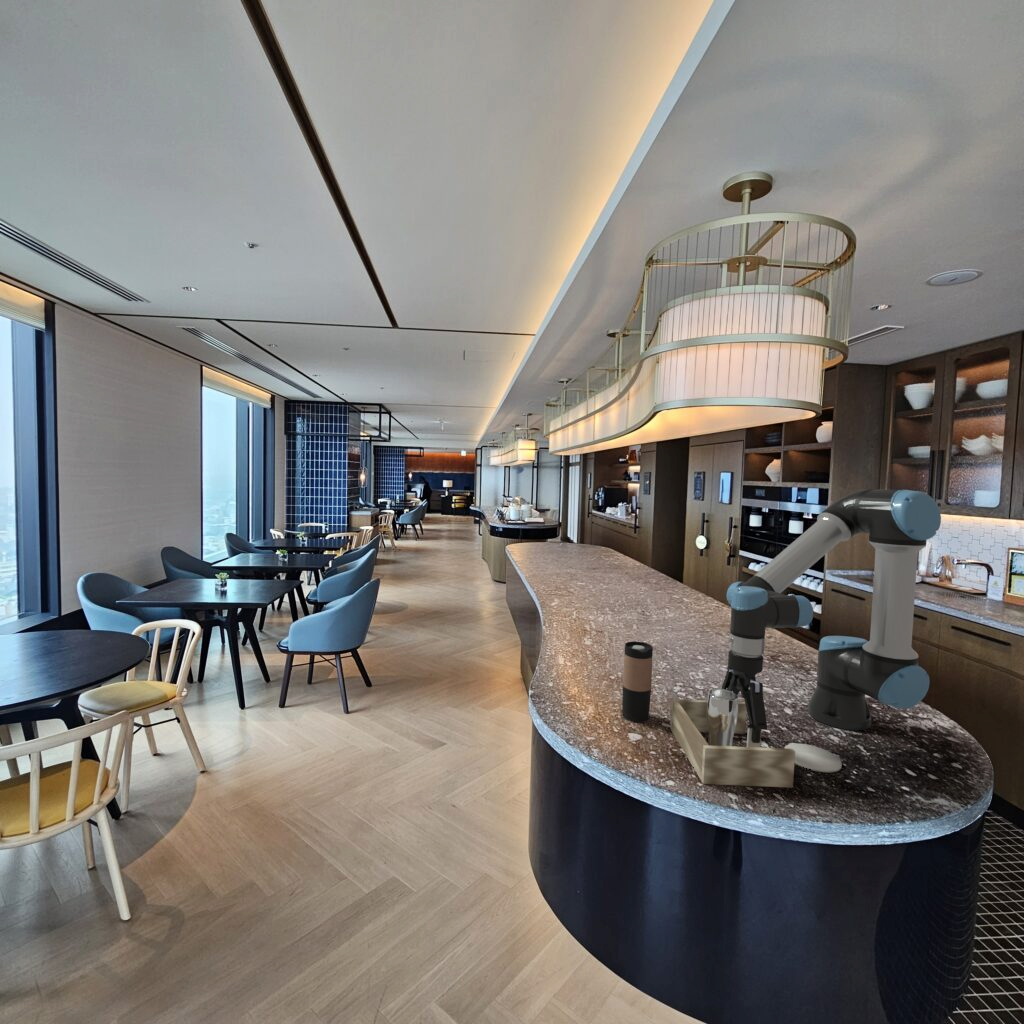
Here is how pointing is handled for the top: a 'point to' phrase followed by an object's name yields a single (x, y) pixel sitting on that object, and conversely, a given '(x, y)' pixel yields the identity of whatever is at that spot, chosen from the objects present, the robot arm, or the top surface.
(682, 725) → the open side box
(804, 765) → the coaster
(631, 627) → the top surface
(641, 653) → the travel mug
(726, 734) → the beer glass
